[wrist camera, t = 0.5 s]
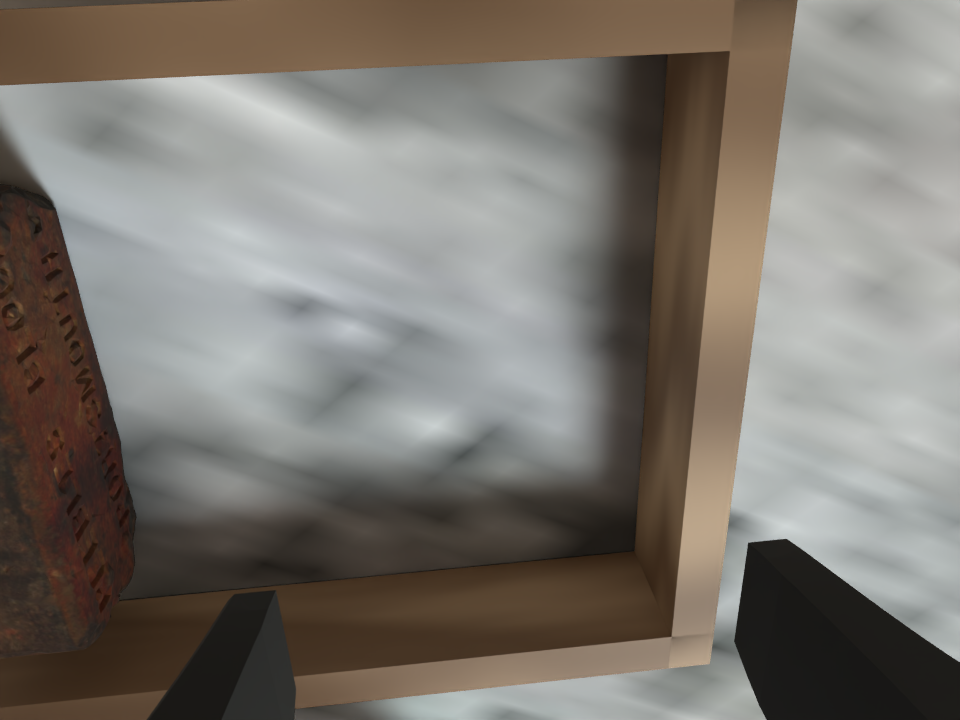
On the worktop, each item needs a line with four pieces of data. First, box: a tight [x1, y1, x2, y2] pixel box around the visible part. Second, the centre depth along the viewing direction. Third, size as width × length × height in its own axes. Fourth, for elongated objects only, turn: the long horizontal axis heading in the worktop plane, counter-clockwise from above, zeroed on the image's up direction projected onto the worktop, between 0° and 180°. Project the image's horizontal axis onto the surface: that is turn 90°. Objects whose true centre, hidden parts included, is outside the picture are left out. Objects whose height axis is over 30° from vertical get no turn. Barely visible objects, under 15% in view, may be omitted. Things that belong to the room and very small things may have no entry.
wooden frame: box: [0, 0, 797, 720], centre depth 18 cm, size 17×22×4 cm
